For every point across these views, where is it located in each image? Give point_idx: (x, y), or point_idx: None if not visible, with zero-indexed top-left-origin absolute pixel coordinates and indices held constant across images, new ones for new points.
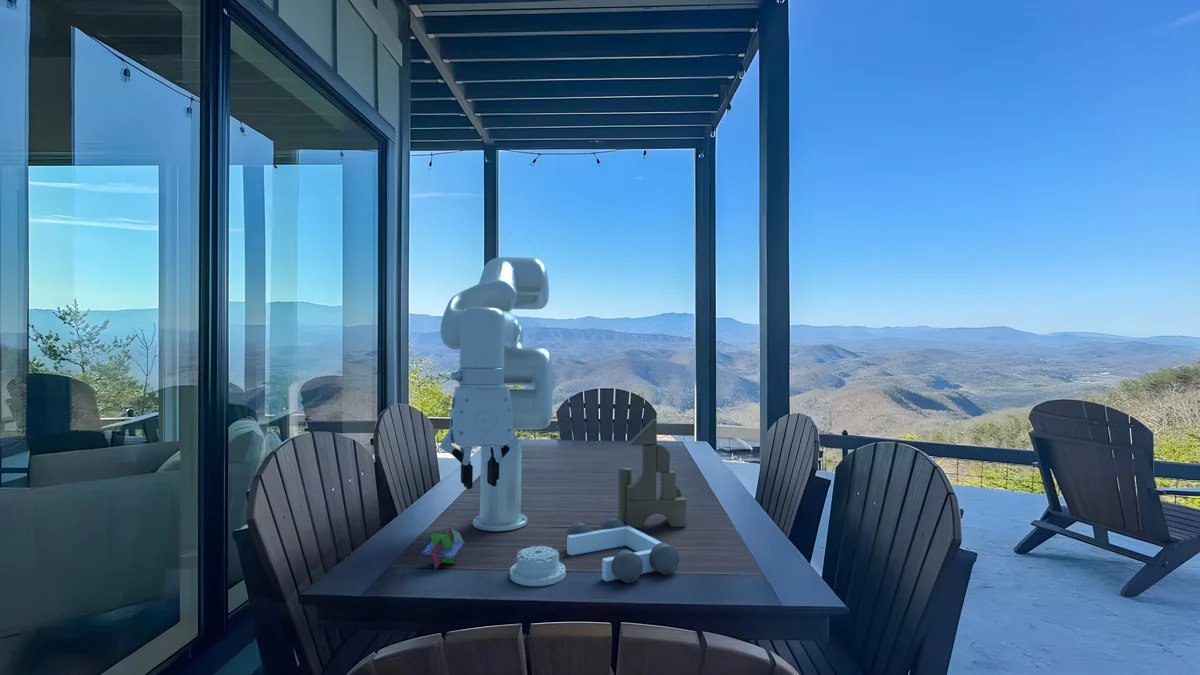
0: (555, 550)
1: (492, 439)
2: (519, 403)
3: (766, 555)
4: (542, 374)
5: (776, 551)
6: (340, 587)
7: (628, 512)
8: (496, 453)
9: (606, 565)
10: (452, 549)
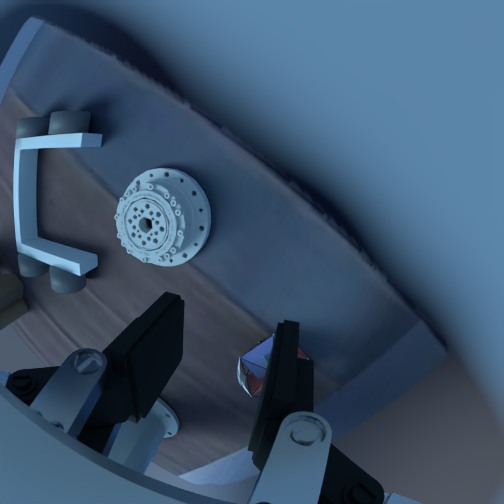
0: (118, 215)
1: (23, 464)
2: None
3: None
4: None
5: None
6: (420, 356)
7: (10, 292)
8: (77, 391)
9: (86, 133)
10: (264, 354)
